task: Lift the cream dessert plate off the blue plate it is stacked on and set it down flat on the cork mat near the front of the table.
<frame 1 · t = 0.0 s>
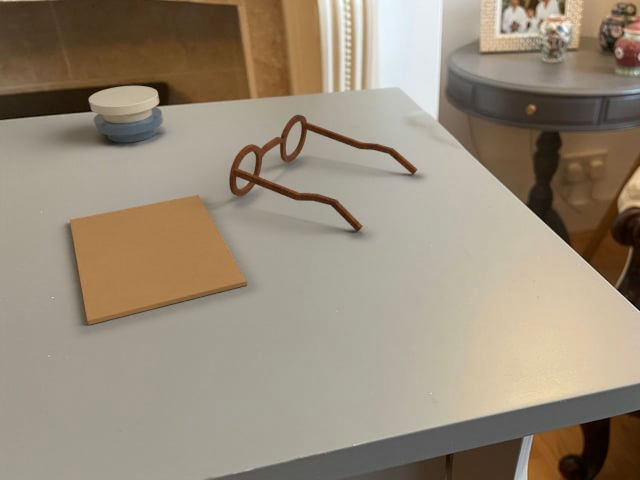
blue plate: (132, 134, 74), on the table, touching top plate
glasses: (327, 191, 61), on the table
top plate: (128, 115, 72), point 2 cm above the table, touching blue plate
mat: (152, 252, 52), on the table
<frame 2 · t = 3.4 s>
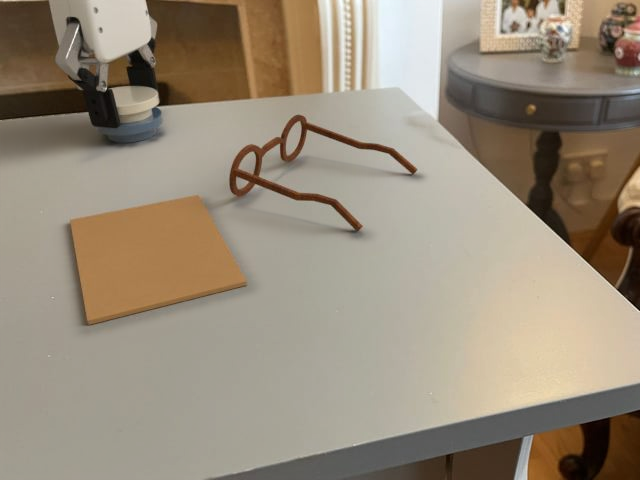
hand: (127, 112, 72), 2 cm above the table, tool pointing down, fingers closed on top plate, 7 cm apart
top plate: (128, 115, 72), point 2 cm above the table, touching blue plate, gripper
everything else where it was.
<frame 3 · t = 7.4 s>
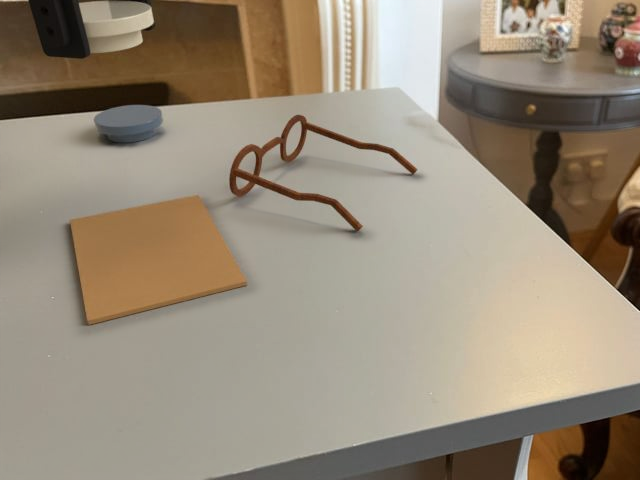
hand: (103, 39, 46), 16 cm above the table, tool pointing down, fingers closed on top plate, 7 cm apart
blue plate: (132, 134, 74), on the table
top plate: (104, 43, 46), point 15 cm above the table, touching gripper
everything else where it was.
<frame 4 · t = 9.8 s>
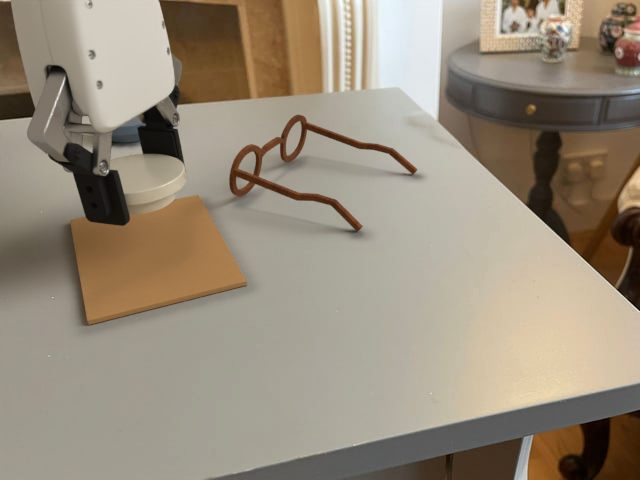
hand: (139, 196, 49), 5 cm above the table, tool pointing down, fingers closed on top plate, 7 cm apart
top plate: (140, 199, 49), point 5 cm above the table, touching gripper
everything else where it was.
when the fingers open (1 cm above the table, at t = 11.5 s): top plate stays where it is, resting on mat.
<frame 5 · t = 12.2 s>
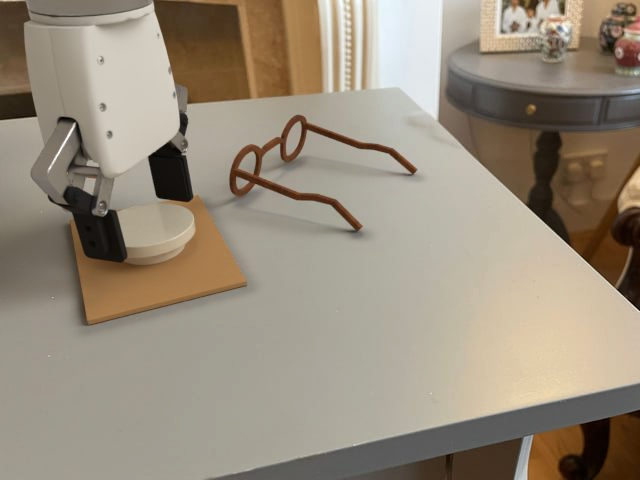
hand: (143, 226, 51), 2 cm above the table, tool pointing down, fingers open, 9 cm apart
top plate: (151, 247, 52), resting on mat
everything else where it was.
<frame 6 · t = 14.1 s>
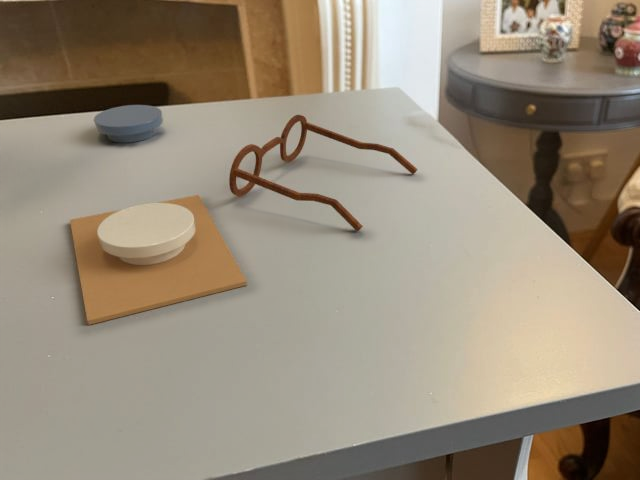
nothing on the table moved.
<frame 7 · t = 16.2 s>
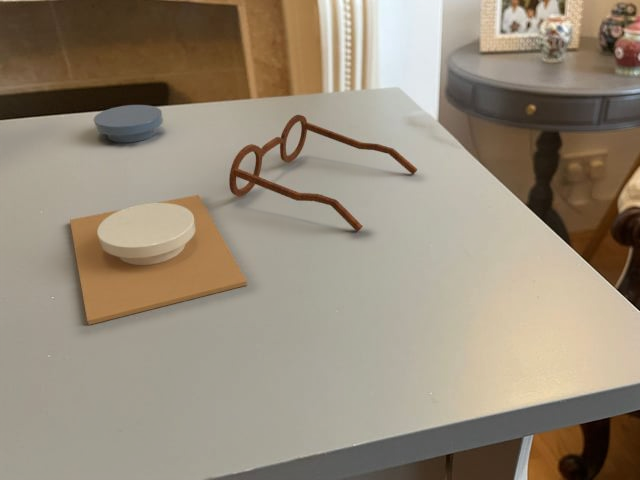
nothing on the table moved.
at the end: top plate inside the target area on the mat (0.1 cm from its centre), point 0.4 cm above the mat's base; top plate tilted 0°; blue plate moved 0.0 cm from its start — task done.
